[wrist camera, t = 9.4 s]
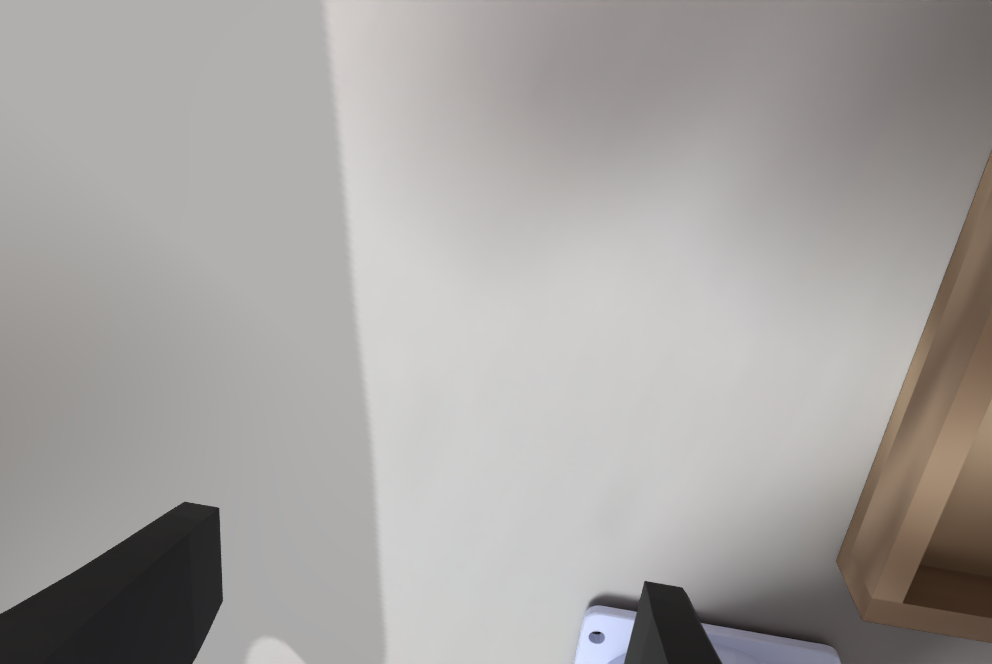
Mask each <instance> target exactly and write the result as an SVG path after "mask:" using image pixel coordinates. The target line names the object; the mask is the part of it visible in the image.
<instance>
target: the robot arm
mask: <svg viewBox="0 0 992 664" xmlns="http://www.w3.org/2000/svg"><path fill="white" fill-rule="evenodd" d="M220 543H221V542H220V518H219V508H217V507H212V506H206V505H200V504H194V503H188V502H184V503H182V504H180V505H179V506H177V507H175V508H174V509H172V510H170V511H169V512H167V513H166V514H164V515H163V516H161V517H159V518H158V519H156V520H155V521H153V522H152V523H150V524H149V525H147V526H146V527H144V528H143V529H141V530H139V531H138V532H136V533H135V534H133V535H132V536H130V537H129V538H127V539H126V540H124V541H122V542H121V543H119V544H118V545H116V546H115V547H113V548H112V549H110V550H108V551H107V552H105V553H103V554H102V555H100V556H99V557H97V558H96V559H94V560H92V561H91V562H89V563H88V564H86V565H84V566H83V567H81V568H80V569H78V570H76V571H75V572H73V573H71V574H70V575H68V576H66V577H65V578H63V579H61V580H59V581H58V582H56V583H54V584H52V585H51V586H49V587H47V588H46V589H44V590H42V591H40V592H39V593H37V594H35V595H33V596H32V597H30V598H28V599H27V600H25V601H23V602H21V603H19V604H18V605H16V606H14V607H12V608H11V609H9V610H7V611H5V612H3V613H1V614H0V664H192V663H193V661H194V660H195V658H196V656H197V654H198V652H199V650H200V648H201V646H202V644H203V642H204V640H205V638H206V636H207V634H208V632H209V630H210V628H211V625H212V623H213V621H214V619H215V616H216V614H217V612H218V610H219V608H220V606H221V604H222V601H223V596H222V595H223V593H222V568H221V544H220ZM593 631H599V632H601V634H593V633H591V632H593ZM573 664H841V661H840V659H839V656H838V654H837V651H836V650H835V649H834V648H833V647H831V646H828V645H824V644H818V643H812V642H807V641H801V640H795V639H790V638H784V637H778V636H772V635H767V634H761V633H755V632H750V631H744V630H738V629H732V628H727V627H721V626H715V625H710V624H704V623H701V622H700V620H699V618H698V616H697V614H696V612H695V610H694V608H693V606H692V604H691V601H690V599H689V597H688V595H687V594H686V592H685V591H684V589H683V588H682V587H676V586H670V585H664V584H658V583H653V582H647V581H645V582H644V586H643V590H642V594H641V598H640V601H639V605H638V609H637V612H635V611H630V610H624V609H618V608H612V607H607V606H593V607H590V608H589V609H587V610H586V612H585V614H584V616H583V621H582V626H581V630H580V635H579V640H578V644H577V649H576V653H575V658H574V663H573Z"/></svg>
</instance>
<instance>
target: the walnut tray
mask: <svg viewBox="0 0 992 664" xmlns="http://www.w3.org/2000/svg"><path fill="white" fill-rule="evenodd" d="M836 562H837V564H838V567H839V569H840V571H841V573H842V576H843V578H844V580H845V583H846V585H847V587H848V589H849V592H850V594H851V596H852V599H853V601H854V603H855V605H856V608H857V610H858V612H859V614H860V617H861V619H862V621H867V622H873V623H878V624H884V625H890V626H896V627H902V628H907V629H913V630H919V631H925V632H931V633H936V634H942V635H948V636H954V637H960V638H965V639H971V640H977V641H983V642H989V643H992V152H991V155H990V157H989V160H988V163H987V165H986V168H985V171H984V173H983V176H982V178H981V181H980V184H979V186H978V189H977V192H976V194H975V197H974V200H973V202H972V205H971V207H970V210H969V213H968V215H967V218H966V221H965V223H964V226H963V228H962V231H961V234H960V236H959V239H958V242H957V244H956V247H955V250H954V252H953V255H952V257H951V260H950V263H949V265H948V268H947V271H946V273H945V276H944V278H943V281H942V284H941V286H940V289H939V292H938V294H937V297H936V300H935V302H934V305H933V307H932V310H931V313H930V315H929V318H928V321H927V323H926V326H925V328H924V331H923V334H922V336H921V339H920V342H919V344H918V347H917V349H916V352H915V355H914V357H913V360H912V363H911V365H910V368H909V371H908V373H907V376H906V378H905V381H904V384H903V386H902V389H901V392H900V394H899V397H898V399H897V402H896V405H895V407H894V410H893V413H892V415H891V418H890V421H889V423H888V426H887V428H886V431H885V434H884V436H883V439H882V442H881V444H880V447H879V449H878V452H877V455H876V457H875V460H874V463H873V465H872V468H871V471H870V473H869V476H868V478H867V481H866V484H865V486H864V489H863V492H862V494H861V497H860V499H859V502H858V505H857V507H856V510H855V513H854V515H853V518H852V521H851V523H850V526H849V528H848V531H847V534H846V536H845V539H844V542H843V544H842V547H841V549H840V552H839V555H838V557H837V560H836Z"/></svg>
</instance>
